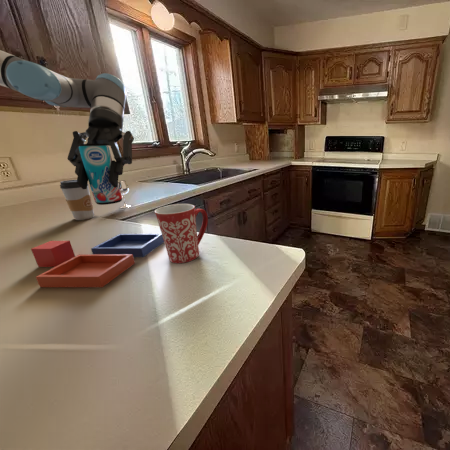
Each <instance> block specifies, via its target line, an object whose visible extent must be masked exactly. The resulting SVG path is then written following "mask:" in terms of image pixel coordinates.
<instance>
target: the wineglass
mask: <svg viewBox="0 0 450 450" xmlns="http://www.w3.org/2000/svg"><path fill="white" fill-rule="evenodd" d="M118 184H119V188H120V192H121V196H122V201H123V203H124V204H123V205H122V206H119V208H120V209H126V208H131V207H132V205H131V204H127V203H126V200H125V199H126V196H125V195H127V194H128V193H129V192H130V189H129V185H128V182H127V181H126V180H122V179H121V180H118Z"/></svg>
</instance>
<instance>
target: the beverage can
mask: <svg viewBox="0 0 450 450" xmlns="http://www.w3.org/2000/svg"><path fill="white" fill-rule="evenodd" d="M78 146H79V151H80V154H81V158H82V161H83V164H84V168H85V171H86V174H87V177H88V183H89V184H88V185H89V187H90V190H91V194H92V197H93V200H94V202H95V204H96V205H99V206H102V205H103V206H104V205H105V206H106V205H114V204H118V203H120V202H122V201H123V198H122V195H121V192H120V188H119V184H118V186H117V187H113V186H112V184H111V183H110V182H109V176H110V167H111V161H113V158H112V155H111V151H110V148H109V147H110V146H108V144H87V143H84V144H78Z"/></svg>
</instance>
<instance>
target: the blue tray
mask: <svg viewBox="0 0 450 450" xmlns="http://www.w3.org/2000/svg"><path fill="white" fill-rule="evenodd" d="M163 244H164V240H163V236H162V233H118V234H116V235H115V236H113V237H111V238H108V239H107V240H105V241H103V242H101V243H99V244H97V245H94V246H93V247H91V248H90V250H91V254H133V258H145V257H146V256H147V255H149V254H150V253H151V252H153V251H155V250H156V249H157V248H159V247H160V246H161V245H163Z"/></svg>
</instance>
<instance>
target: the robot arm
mask: <svg viewBox="0 0 450 450" xmlns="http://www.w3.org/2000/svg"><path fill="white" fill-rule="evenodd" d="M0 86H1V87H3V88H4V87H5V88H7V89H10V90H13V91H16V92H18V93H20V94H22V95H24V96H27V97H29V98H32V99H35V100H38V101H44V102H45V103H46V104H48V105H50V106H54V107H62V108H67V107H68V108H86V109H89V108H90V112H89V116H88V120H87V121H88V122H87V124H88V125H87V126H88V128H87V129H86V130H85V131H83V132H79V131H77V130H74V131H72V136H73V139H72V142H71V144H70V149H69V152H68V155H67V161H68V162H69V163H70V164H71V165H72V166H73V167H75V170H74V173H75V175H76V176H77V177H76V180H77V184H78V185H79V186H80V187H81V188H82V189H87V184H88V183H89V181H88V177H87V174H86V171H85V168H84V164H83V161H82V158H81V154H80V151H79V146H78V144H85V143H86V144H108V145H107V146H108V147H110V149H111V152H112V154H113V159H112V161H111V167H110V176H109V182H110V183H111V184H112V186H113V187H117V186H118V181H119V176H123V173H124V167H125V165H132V164H133V143H134V140H135V137H134V135H133V133H132V132H131V131H130V130H126V131H123V128H124V119H125V108H126V101H127V89H126V85H125V84H124V82H123V81H122V80H121V79H120V78H119V77H117V76H116V75H113V74H111V73H104V72H103V73H100V74H98V75H97V76H96V78H95V79H83V78H74V77H67V76H65V75H63V74H60V73H58V72H56V71H54V70H51V69H48V68H47V67H45V66H44V65H41V64H39V63H36V62H34V61H30V60H27V59H24V58H21V57H18V56H16V55H14V54H11V53H8V52H7V51H4V50H1V49H0ZM121 139H123V140H122V153H121V151H120V150H119V145H118V143H117V142H119V141H120V140H121ZM88 185H89V184H88Z"/></svg>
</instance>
